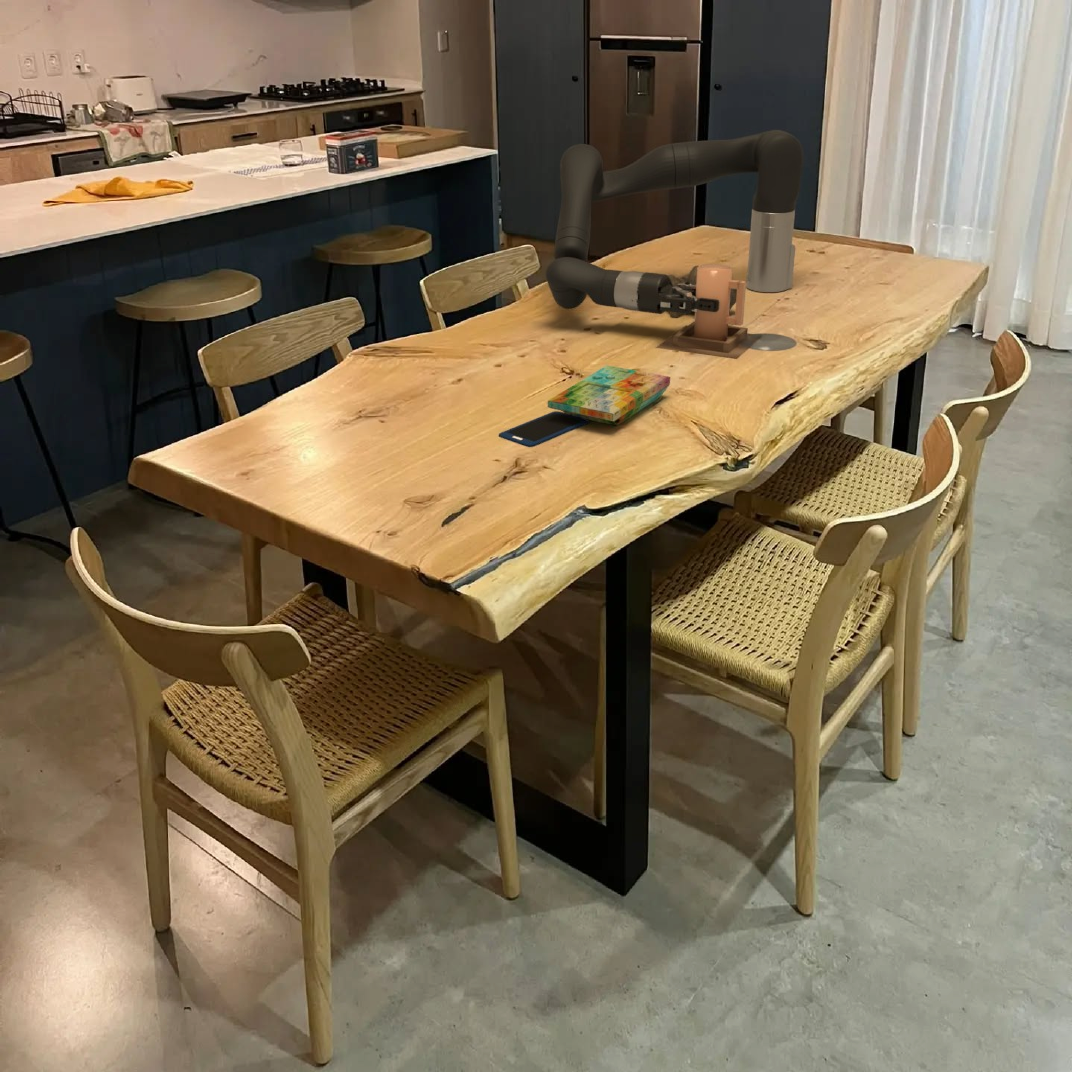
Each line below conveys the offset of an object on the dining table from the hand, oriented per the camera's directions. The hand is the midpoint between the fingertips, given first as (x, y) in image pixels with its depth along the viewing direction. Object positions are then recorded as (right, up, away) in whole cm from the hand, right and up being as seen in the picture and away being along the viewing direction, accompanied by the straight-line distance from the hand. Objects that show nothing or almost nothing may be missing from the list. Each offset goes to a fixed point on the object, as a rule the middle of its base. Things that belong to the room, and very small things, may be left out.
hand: (724, 301), depth 201 cm
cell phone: (-34, -28, -32) cm, 54 cm away
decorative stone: (-1, +3, +24) cm, 24 cm away
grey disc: (+9, -7, +4) cm, 12 cm away
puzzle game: (-23, -23, -25) cm, 41 cm away
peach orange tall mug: (-1, -7, +4) cm, 8 cm away
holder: (-2, -7, +5) cm, 9 cm away
